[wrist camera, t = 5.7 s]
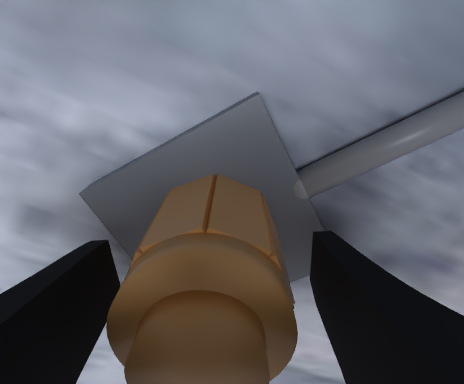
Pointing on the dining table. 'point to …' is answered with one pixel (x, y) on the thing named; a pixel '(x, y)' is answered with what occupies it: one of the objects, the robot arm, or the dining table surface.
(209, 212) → the wire nut
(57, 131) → the dining table surface
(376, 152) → the gray square paddle
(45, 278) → the robot arm
